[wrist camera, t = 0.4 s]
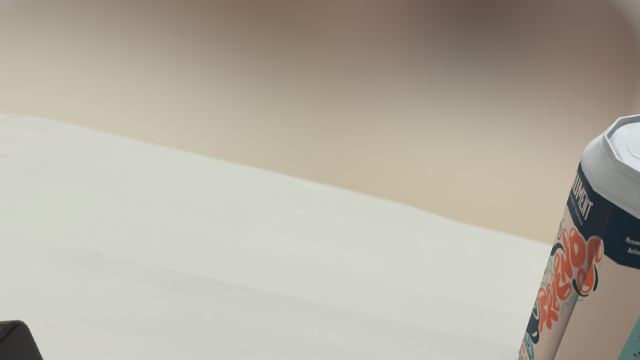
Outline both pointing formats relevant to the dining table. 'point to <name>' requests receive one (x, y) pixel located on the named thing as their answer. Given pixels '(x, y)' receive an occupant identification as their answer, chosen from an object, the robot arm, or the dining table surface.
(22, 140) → the dining table surface
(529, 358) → the beer can
